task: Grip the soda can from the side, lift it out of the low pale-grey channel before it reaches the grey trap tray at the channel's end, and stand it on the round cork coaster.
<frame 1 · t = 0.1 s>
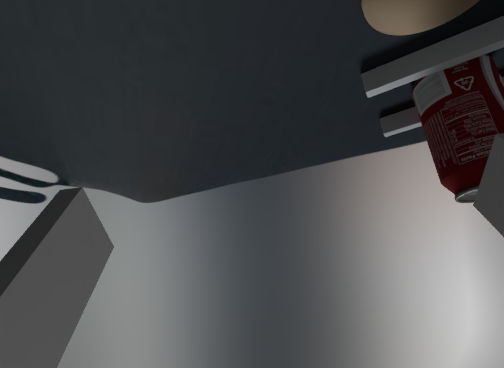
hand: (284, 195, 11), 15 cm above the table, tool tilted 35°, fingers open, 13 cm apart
channel: (447, 73, 30), on the table
soda can: (447, 71, 30), on the table
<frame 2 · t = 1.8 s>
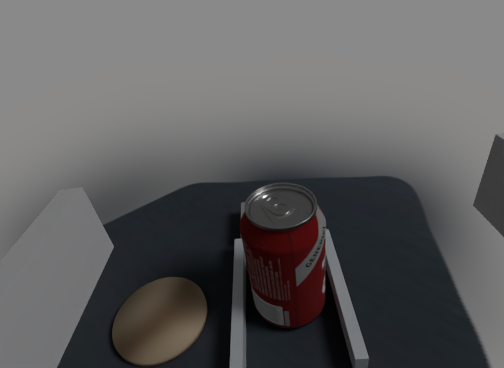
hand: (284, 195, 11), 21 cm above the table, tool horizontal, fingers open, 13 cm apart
cork coaster: (161, 318, 31), on the table
channel: (289, 299, 31), on the table
soda can: (289, 301, 31), on the table
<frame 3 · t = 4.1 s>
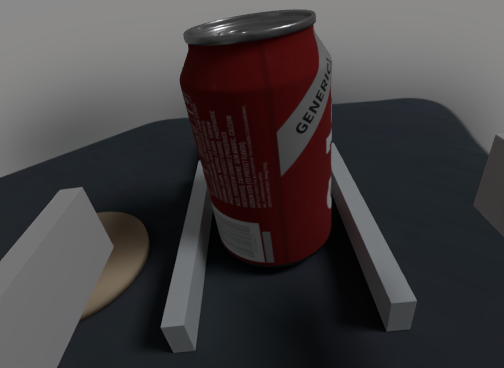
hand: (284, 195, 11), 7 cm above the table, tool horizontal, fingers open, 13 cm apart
cork coaster: (78, 265, 20), on the table
channel: (275, 232, 20), on the table
soda can: (276, 235, 20), on the table
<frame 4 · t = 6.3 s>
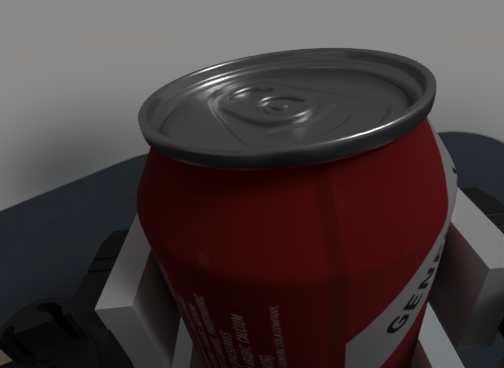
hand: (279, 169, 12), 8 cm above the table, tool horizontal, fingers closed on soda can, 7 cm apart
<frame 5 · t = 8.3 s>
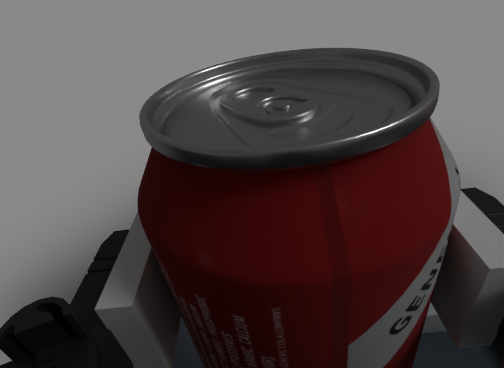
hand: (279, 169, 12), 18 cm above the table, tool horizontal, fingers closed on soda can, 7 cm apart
trap tray: (421, 297, 26), on the table
when the fingers open (9 cm above the table, at t = 10.5 s): soda can drops 1 cm, resting on cork coaster.
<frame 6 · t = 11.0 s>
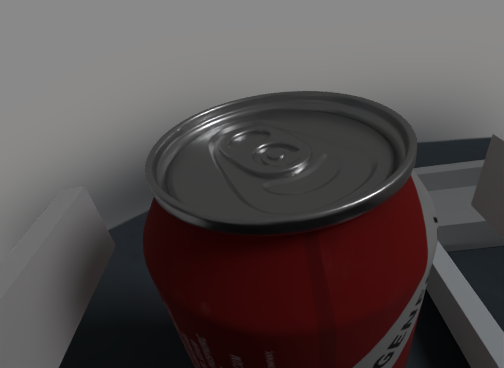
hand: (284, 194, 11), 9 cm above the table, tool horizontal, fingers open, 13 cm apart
trap tray: (467, 214, 21), on the table
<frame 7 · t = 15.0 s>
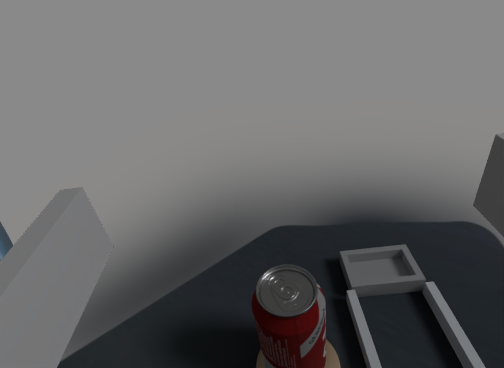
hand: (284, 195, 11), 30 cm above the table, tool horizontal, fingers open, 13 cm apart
trap tray: (378, 275, 43), on the table
channel: (412, 351, 34), on the table
soda can: (294, 358, 35), resting on cork coaster
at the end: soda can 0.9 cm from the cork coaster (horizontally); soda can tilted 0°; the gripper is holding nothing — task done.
